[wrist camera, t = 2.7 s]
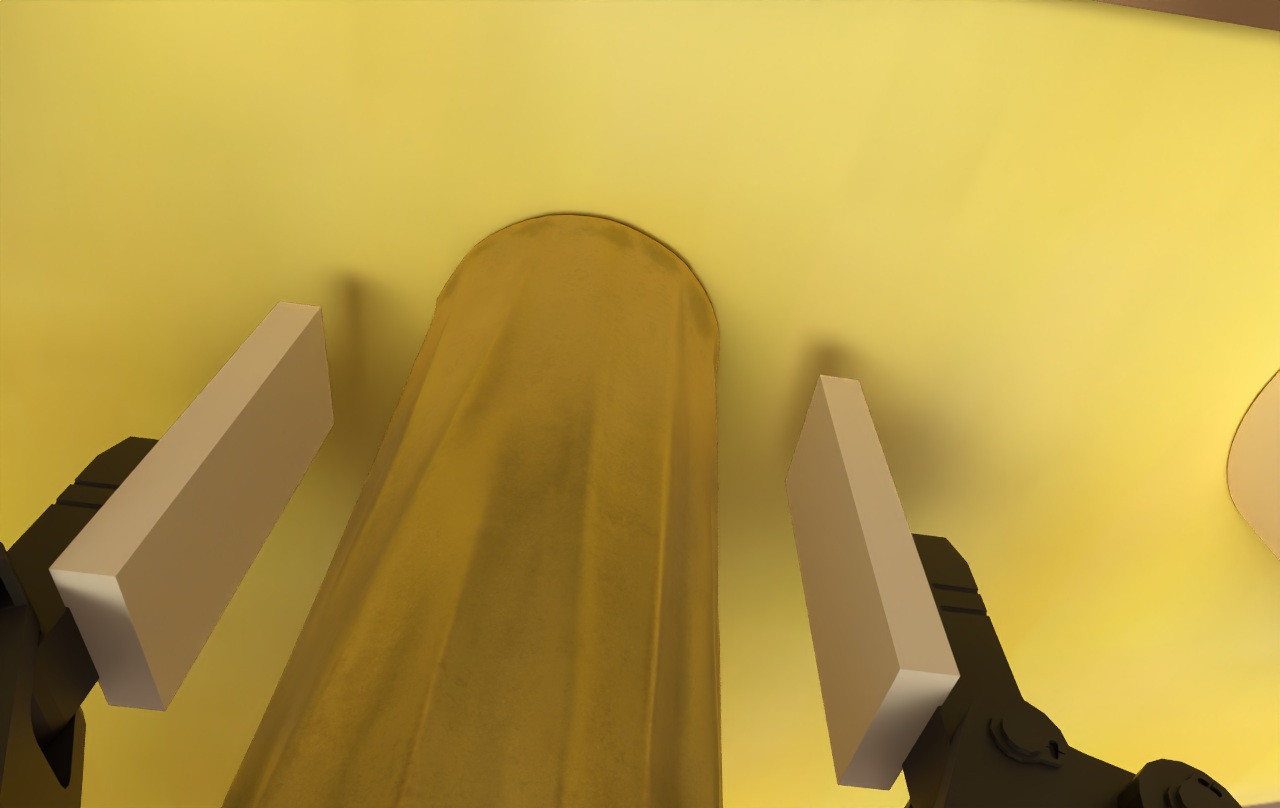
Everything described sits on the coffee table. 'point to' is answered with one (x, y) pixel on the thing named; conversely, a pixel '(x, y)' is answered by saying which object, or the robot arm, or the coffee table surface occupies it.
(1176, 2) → the board
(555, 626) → the vase
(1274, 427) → the cup
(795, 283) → the coffee table surface
